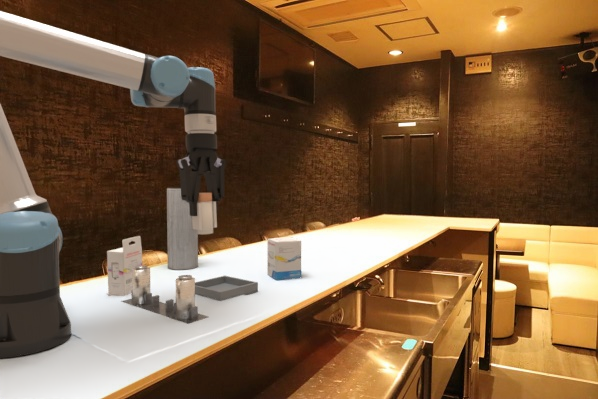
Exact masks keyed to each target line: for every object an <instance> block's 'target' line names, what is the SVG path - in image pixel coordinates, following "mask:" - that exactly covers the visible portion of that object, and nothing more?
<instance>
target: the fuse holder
mask: <svg viewBox="0 0 598 399" xmlns="http://www.w3.org/2000/svg"><path fill="white" fill-rule="evenodd" d="M132 281H133V290H132V293H131V298H129V299H124V300H121V301H120V302H121V303H125V304H126V305H127V304H128V305H131V306H133V307H136V308H140V309H142V310H145V311H148V312H151V313H154V314H157V315H161V316H163V317H166V318H169V319H173V320H175V321H178V322H181V323H184V324H188V325H189V324H192V323H195V322H198V321H201V320H204V319H208V318H209V316H208V315H204V314H201V313H198V312H199V310H198V306H196V294H195V282H196V279H195V277H193V276H192V275H190V274H181V275H179V276H178V277H177V278H175V302H174V299H173V298H171V299H166V300H165V302H161V301H160V295H158V294H156V295H153V293H151V268H150V267H148V265H145V264H142V265H139V266H135V268H134V269H132Z"/></svg>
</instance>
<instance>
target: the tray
mask: <svg viewBox="0 0 598 399" xmlns="http://www.w3.org/2000/svg"><path fill="white" fill-rule="evenodd" d="M258 292H259V283H258V281H253V280H248V279H242V278H238V277H234V276H229V275H222V276H217V277H211V278H209V279H208V278H207V279H204V280H200V281H195V296H198V297H199V296H200V297H204V298H208V299H211V300H215V301H220V302H222V301H225V300H229V299H232V298H233V299H234V298H237V297H240V296H247V295H250V294H255V293H258Z"/></svg>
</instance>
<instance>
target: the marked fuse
mask: <svg viewBox="0 0 598 399" xmlns="http://www.w3.org/2000/svg"><path fill="white" fill-rule="evenodd" d="M197 203H201V217H202V230H197V234H198V235H211V234H214V228H213V212H212V193H208V192H199V197H198V202H197Z"/></svg>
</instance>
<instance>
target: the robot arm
mask: <svg viewBox="0 0 598 399" xmlns="http://www.w3.org/2000/svg"><path fill="white" fill-rule="evenodd" d="M0 57H3V58H7V59H12V60H14V61H19V62H22V63H27V64H31V65H34V66H39V67H43V68H47V69H51V70H54V71H55V70H56V71H57V72H63V73H67V74H70V75H75V76H78V77H82V78H86V79H91V80H93V81H98V82H102V83H105V84H111V85H114V86H118V87H122V88H126V89H129V92H130V93H129V95H130V100H131V103H132V105H134V106H137V107H143V108H144V107H145V108H166V109H168V108H175V109H176V108H177V109H183V110H184V132H186V133H187V134H186V135H185V149H186V150H187V151H186V152H187V153H186V155H185V157H183V158H181V159H177V160H176V164H177V168H178V171H179V181H180V182H179V183H180V188H181V198H182V200H185V201H186V202H188V203H189V209H190V216H192V225H193V229H196V230H202V217H201V203H197V202H198V197H199V193H200V189H201V180H202V175H203V177H204V179H205V183H206V189H207V193H212V212H213V229H215V228H218V221H217V220H218V219H217V215H218V214H219V202H220V201H221V200H222V199H224V198H225V168H226V165H227V160H226V159H221V158H219V157H218V155H217V149H218V136H217V134H216V133H217V114H216V113H217V112H216V89H217V88H216V83H215V75H214V72H213V71H212V70H211V69H209V68H206V67H203V66H202V67H201V66H200V67H199V66H196V67H194V66H190V67H188V66H187V64H186V63H185V62H184V61H183V60H181V59H180V58H178V57H177V56H173V55H163V56H160V57H159V56H158V57H157V56H154V55H151V54H148V53H147V54H146V53H143V52H140V51H136V50H133V49H129V48H127V47H123V46H121V45H120V46H119V45H116V44H114V43H113V44H112V43H110V42H106V41H102V40H99V39H96V38H94V37H93V38H92V37H90V36H86V35H84V34H80V33H76V32H72V31H69V30H65V29H63V28H60V27H55V26H53V25H49V24H45V23H42V22H39V21H36V20H32V19H29V18H25V17H22V16H19V15H16V14H12V13H8V12H5V11H3V10H0ZM47 200H48V199H47V198H44V197H41V196H40V195H37V194H36V192H35V189H34V187H33V183H32V181H31V179H30V177H29V173H28V171H27V169H26V165H25V163H24V161H23V158H22V156H21V153H20V150H19V148H18V145H17V143H16V140H15V138H14V135H13V132H12V130H11V127H10V125H9V123H8V120H7V117H6V115H5V112H4V109H3V107H2V104H1V103H0V358H1V359H2V358H14V357H20V356H26V355H31V354H32V355H33V354H35V353H40V352H44V351H46V350H49V349H53V348H54V347H57V346H60V345H61V344H63V343H65V342H66V341H67V340H69V339H70V338H71V336H72V322H71V320H70V317H69V315H68V313H67V312H68V311H67V310H66V308H65V305H64V302H63V300H62V298H61V291H60V290H61V289H60V288H61V287H60V251H61V249H62V247H63V241H64V240H63V233H62V230H61V227H60V226H59V222H58V218H57V216H55V215H54V214H53V213H52V211H51V210H52V209H51V208H50V205H49V202H48V201H47Z"/></svg>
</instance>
